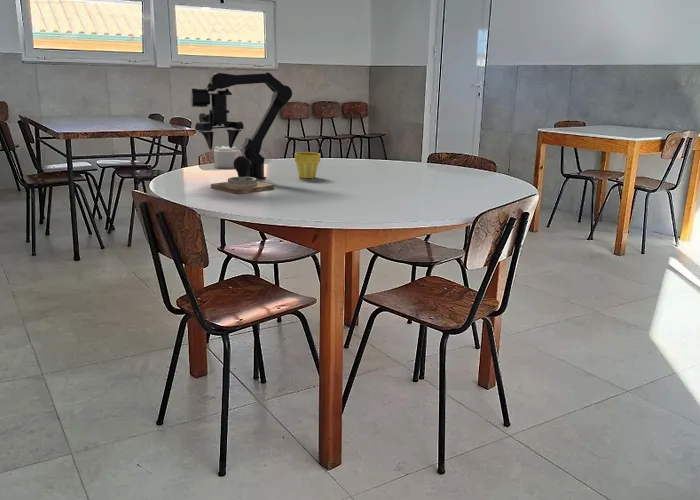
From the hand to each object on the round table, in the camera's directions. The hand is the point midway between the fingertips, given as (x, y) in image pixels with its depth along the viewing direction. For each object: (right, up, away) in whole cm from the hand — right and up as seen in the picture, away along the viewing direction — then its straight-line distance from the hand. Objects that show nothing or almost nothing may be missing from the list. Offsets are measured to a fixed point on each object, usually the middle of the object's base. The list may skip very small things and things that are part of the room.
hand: (220, 148), depth 242 cm
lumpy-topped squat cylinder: (-6, -1, +41) cm, 42 cm away
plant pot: (+33, -10, +13) cm, 37 cm away
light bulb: (+11, -15, -15) cm, 24 cm away
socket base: (+11, -17, -15) cm, 25 cm away
